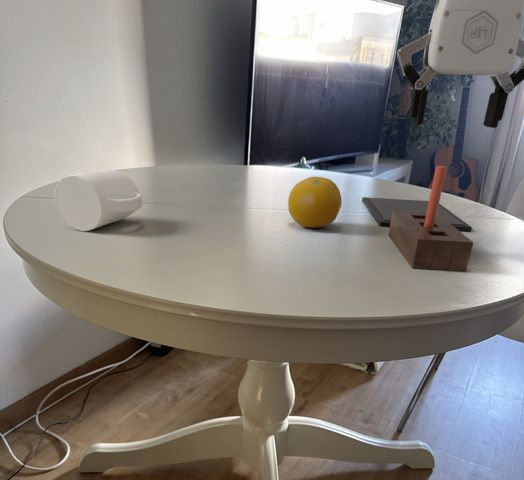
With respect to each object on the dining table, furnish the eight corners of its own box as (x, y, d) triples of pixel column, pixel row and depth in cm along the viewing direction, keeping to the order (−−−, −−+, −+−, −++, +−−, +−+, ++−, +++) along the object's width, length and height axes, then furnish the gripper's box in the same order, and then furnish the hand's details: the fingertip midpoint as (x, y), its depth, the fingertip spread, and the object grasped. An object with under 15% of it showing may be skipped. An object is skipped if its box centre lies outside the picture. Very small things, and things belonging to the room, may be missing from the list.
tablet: (436, 205, 103) (436, 201, 103) (471, 231, 84) (472, 226, 83) (361, 200, 103) (362, 196, 103) (379, 226, 84) (380, 221, 83)
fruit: (287, 231, 78) (291, 180, 74) (285, 219, 85) (289, 172, 81) (341, 234, 78) (348, 183, 74) (335, 222, 85) (340, 174, 81)
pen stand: (431, 237, 79) (437, 213, 77) (465, 271, 64) (473, 242, 62) (388, 235, 79) (392, 210, 77) (412, 268, 64) (418, 239, 62)
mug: (54, 227, 73) (45, 172, 69) (90, 214, 81) (84, 164, 77) (124, 237, 70) (118, 180, 66) (154, 223, 78) (151, 171, 74)
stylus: (426, 250, 72) (445, 166, 66) (429, 253, 71) (448, 167, 65) (417, 249, 72) (435, 165, 66) (419, 252, 71) (438, 166, 65)
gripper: (418, -48, 52) (393, 125, 60) (579, -44, 52) (531, 130, 60) (403, -33, 59) (382, 121, 67) (546, -29, 58) (507, 126, 67)
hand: (453, 125), depth 63 cm, fingers open, 9 cm apart
